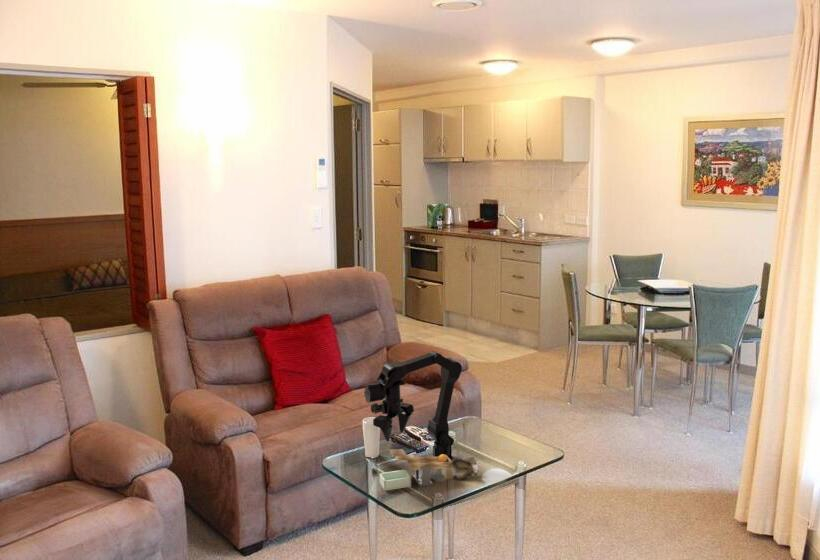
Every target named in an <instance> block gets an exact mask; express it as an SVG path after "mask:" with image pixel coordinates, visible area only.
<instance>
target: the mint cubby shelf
mask: <svg viewBox="0 0 820 560" xmlns="http://www.w3.org/2000/svg"><path fill="white" fill-rule="evenodd" d="M408 472H409V471H407V469H399V470H393V471H385V472H380V473H379V474H378V476H379V478H378V479H379V481H378V482H379V484H380V487H382V489H383V490H384V491H385V492H386V491H392V490H397V489H403V488H404V489H405V488H411V487H412V476H411V475H410V473H408Z"/></svg>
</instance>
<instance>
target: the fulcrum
mask: <svg viewBox="0 0 820 560" xmlns="http://www.w3.org/2000/svg"><path fill="white" fill-rule="evenodd" d="M453 467H454V466H453V465H451V468H441V475H442V476H443V477H444V478H445V480H453V479H454V478H453V477H454V475H453V473H454V472H453V470H454V469H453ZM414 471H415V472H414V473H415V474H412V477H413V478H414V480H415V481H416V483H417V484H418V486H419V487H420V488H421V487H426V486H431V485H432V486H433V485H434V483H433V480H432V479H431V469H430V465H429V466H422V469H421V470H414Z"/></svg>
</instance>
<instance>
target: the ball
mask: <svg viewBox="0 0 820 560" xmlns="http://www.w3.org/2000/svg"><path fill="white" fill-rule="evenodd" d="M438 460H439V462H446V461H447V456H446V455H444V454H441V455H440V456H439V458H438Z"/></svg>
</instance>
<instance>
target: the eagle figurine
mask: <svg viewBox="0 0 820 560" xmlns="http://www.w3.org/2000/svg"><path fill="white" fill-rule="evenodd" d="M451 465H452V467H456V468H459V469H464V471H461V472H460V473H456V474H454V475H453V479H454V480H458V481H460V480H463V479H465V478H468V477H470V476H472V474H474V475H475V476H476V475H477V473H478V472H479V469H480V468H479V467H480V465H478V464H477V463H476V459H474V460H473V465H472V463H471V462H470V461H466V460H464V459H462V458H455V459H453V461H452V464H451ZM477 476H478V475H477Z"/></svg>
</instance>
